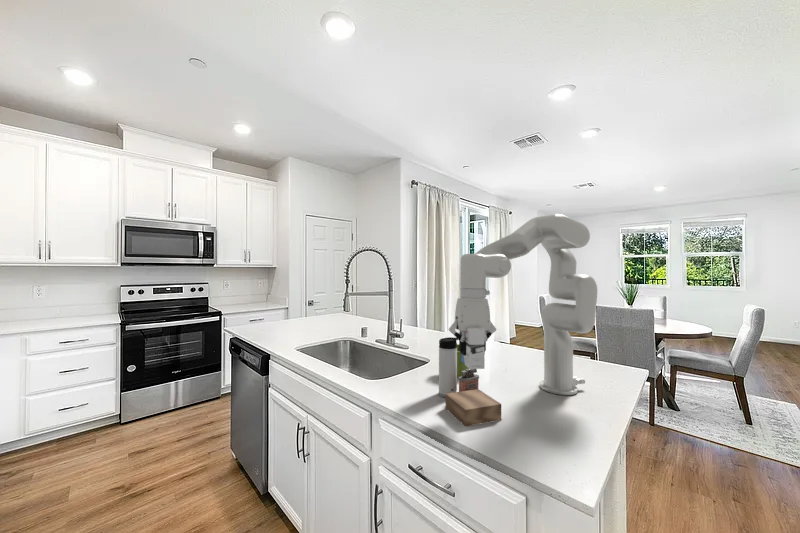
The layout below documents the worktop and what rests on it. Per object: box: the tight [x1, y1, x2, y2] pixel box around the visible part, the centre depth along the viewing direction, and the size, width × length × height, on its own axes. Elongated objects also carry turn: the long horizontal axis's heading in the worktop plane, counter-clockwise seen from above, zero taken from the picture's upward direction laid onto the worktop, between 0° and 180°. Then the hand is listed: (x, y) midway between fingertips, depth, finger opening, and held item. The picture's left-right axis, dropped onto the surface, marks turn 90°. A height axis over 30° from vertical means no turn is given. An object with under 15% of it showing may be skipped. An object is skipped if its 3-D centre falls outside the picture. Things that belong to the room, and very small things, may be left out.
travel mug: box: [438, 336, 459, 398], centre depth 110 cm, size 6×7×20 cm
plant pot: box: [457, 343, 470, 378], centre depth 131 cm, size 12×12×11 cm
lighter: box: [457, 369, 480, 392], centre depth 107 cm, size 8×3×10 cm, turn 117°
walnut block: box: [444, 388, 502, 427], centre depth 96 cm, size 12×12×5 cm
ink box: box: [461, 327, 486, 370], centre depth 96 cm, size 8×5×12 cm, turn 5°
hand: (472, 353), depth 96 cm, fingers closed on ink box, 5 cm apart
